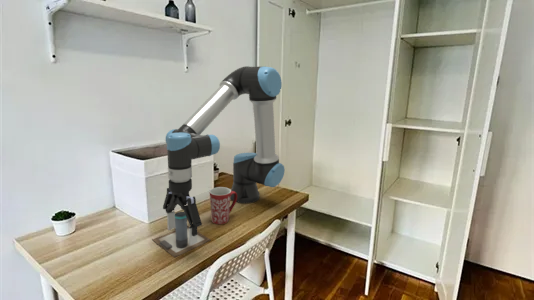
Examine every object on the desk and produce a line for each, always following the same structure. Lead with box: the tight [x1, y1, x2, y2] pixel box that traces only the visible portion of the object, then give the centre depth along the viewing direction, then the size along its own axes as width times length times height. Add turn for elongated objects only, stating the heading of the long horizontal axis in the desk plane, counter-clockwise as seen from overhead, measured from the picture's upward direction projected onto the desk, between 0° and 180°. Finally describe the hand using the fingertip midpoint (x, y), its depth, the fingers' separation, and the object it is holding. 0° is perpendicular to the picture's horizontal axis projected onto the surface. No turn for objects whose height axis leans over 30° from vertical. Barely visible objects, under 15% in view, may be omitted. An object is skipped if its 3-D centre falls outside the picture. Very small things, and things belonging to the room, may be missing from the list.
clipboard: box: [152, 225, 211, 258], centre depth 108 cm, size 15×15×1 cm
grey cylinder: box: [174, 211, 188, 248], centre depth 103 cm, size 4×4×12 cm
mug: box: [208, 186, 237, 225], centre depth 124 cm, size 13×9×14 cm
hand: (181, 235), depth 104 cm, fingers open, 13 cm apart
